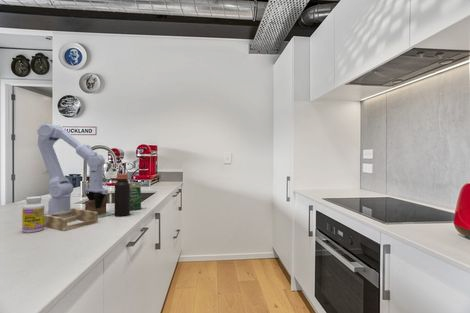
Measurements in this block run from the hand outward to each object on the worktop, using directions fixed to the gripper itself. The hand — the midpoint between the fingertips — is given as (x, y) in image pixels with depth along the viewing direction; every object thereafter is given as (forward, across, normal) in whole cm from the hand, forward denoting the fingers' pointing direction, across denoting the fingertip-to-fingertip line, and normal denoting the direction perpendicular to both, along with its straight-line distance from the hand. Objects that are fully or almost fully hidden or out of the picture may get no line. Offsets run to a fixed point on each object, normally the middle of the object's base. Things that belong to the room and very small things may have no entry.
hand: (95, 207), depth 125 cm
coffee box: (+4, -6, -17) cm, 18 cm away
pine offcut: (+4, 0, +16) cm, 16 cm away
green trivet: (+4, 0, 0) cm, 4 cm away
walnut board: (+3, 0, 0) cm, 3 cm away
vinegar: (+4, -11, -6) cm, 13 cm away
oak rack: (+4, -4, +16) cm, 16 cm away
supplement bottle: (+4, -2, +28) cm, 28 cm away
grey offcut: (+2, 0, +16) cm, 16 cm away
